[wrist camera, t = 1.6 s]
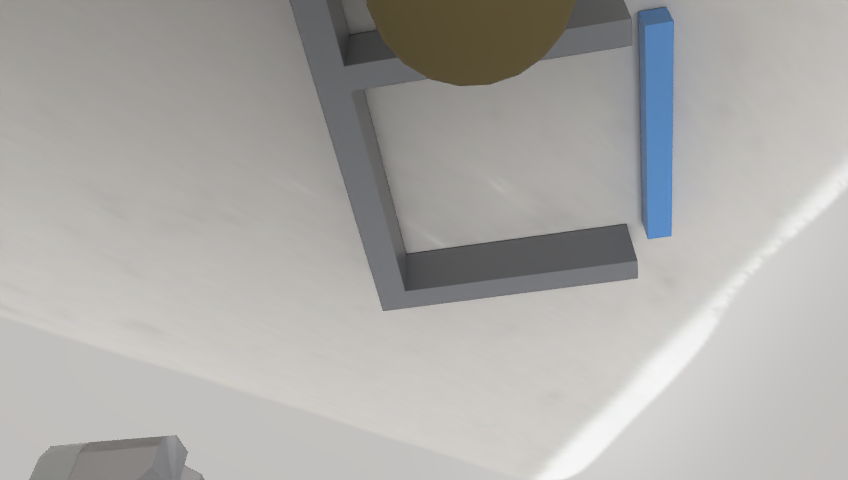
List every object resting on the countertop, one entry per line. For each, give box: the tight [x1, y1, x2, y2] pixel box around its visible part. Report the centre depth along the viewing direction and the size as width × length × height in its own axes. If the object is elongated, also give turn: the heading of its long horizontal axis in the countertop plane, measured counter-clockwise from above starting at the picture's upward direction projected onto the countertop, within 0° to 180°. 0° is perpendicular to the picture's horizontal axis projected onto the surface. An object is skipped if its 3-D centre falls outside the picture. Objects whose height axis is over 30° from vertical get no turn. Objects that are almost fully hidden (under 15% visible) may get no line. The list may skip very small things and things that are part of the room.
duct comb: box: [290, 0, 674, 311], centre depth 29 cm, size 13×23×2 cm, turn 10°
